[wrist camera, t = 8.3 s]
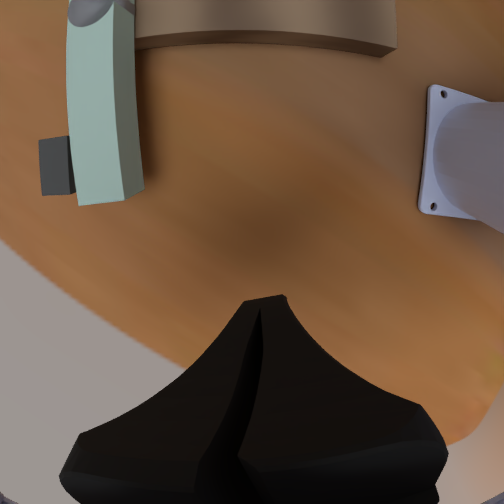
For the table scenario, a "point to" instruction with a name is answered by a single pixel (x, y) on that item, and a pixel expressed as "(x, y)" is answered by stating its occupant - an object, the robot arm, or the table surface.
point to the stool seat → (269, 23)
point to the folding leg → (103, 100)
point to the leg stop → (56, 166)
